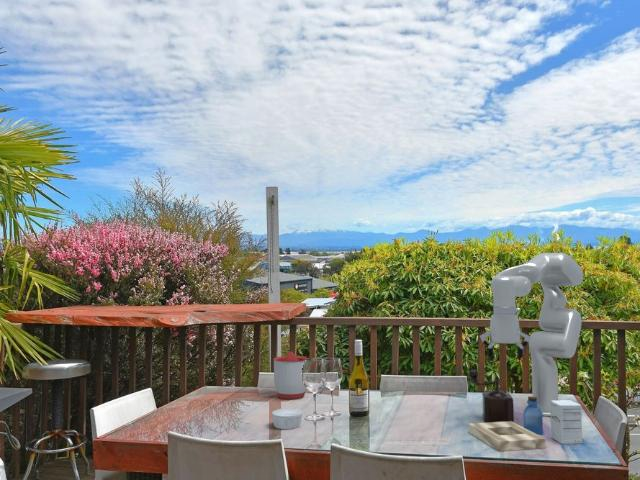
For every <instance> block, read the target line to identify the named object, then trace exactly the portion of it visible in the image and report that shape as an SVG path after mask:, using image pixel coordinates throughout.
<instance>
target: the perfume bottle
mask: <svg viewBox="0 0 640 480" xmlns="http://www.w3.org/2000/svg"><path fill="white" fill-rule="evenodd" d="M527 404H528V405H527ZM527 404H526V405H525V408H524V410H523V414H522V415H523V427H524V428H526V429H527V430H529V431H531V432H533V433H535V434H537V435H539V436H543V435H544V432H543V431H544V429H543V428H544V427H543V424H544V423H543V416H542V411H541V410H540V408H539V406H537V404H538V401H537V397H533V396H532V395H530V396H527Z"/></svg>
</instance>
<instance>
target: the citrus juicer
mask: <svg viewBox="0 0 640 480" xmlns="http://www.w3.org/2000/svg"><path fill="white" fill-rule="evenodd" d="M305 360H308V357H307V356H302V355H295V353H294V352H293V351H289V352H288V353H287V354H286V355H283V356H281V355H280V356H276V357H273V381H274V388H275V393H276V394H277V397H278V398H280V399H281V400H286V399H289V400H290V399H294V400H300V399H301V398H304V397H305V394H306V392H307V388H305V386H304V385H303V383H302V377H301V373H302V368H303V365H304V362H305Z"/></svg>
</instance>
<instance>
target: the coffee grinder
mask: <svg viewBox="0 0 640 480" xmlns="http://www.w3.org/2000/svg"><path fill="white" fill-rule="evenodd" d="M467 375H468V377H470V379H471V383H473V384H475V385H476V386H487V385H493V384H495V387H494V389H492V390H490V391H488V392H486V391H485V392H482V415H481V416H482V421H483V423H489V422H507V421H512V422H514V423H515V418H514V417H515V415H514V398H513V397H512V395H511V393H509V392H505V391H503V390H501V389H499V383H500V380H499V378H500V377H499V376H498V375H496V376H494V377H495V380H493V381H488V382H487V381H486V382H479V379H478V377H479V376H478V375H479V372H478V370H476V369H471V370H469V371H468V373H467Z"/></svg>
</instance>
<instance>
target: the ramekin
mask: <svg viewBox="0 0 640 480" xmlns="http://www.w3.org/2000/svg"><path fill="white" fill-rule="evenodd" d="M271 416H272V421H273V422H272V423H273V426H274V427H275V428H276V429H279V430H286V431H287V430H296V429H297V428H300V426H301V422H302V416H303V411H302V410H301V409H298V408H289V407H288V408H279V409H275V410H273V411H272V412H271Z"/></svg>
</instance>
